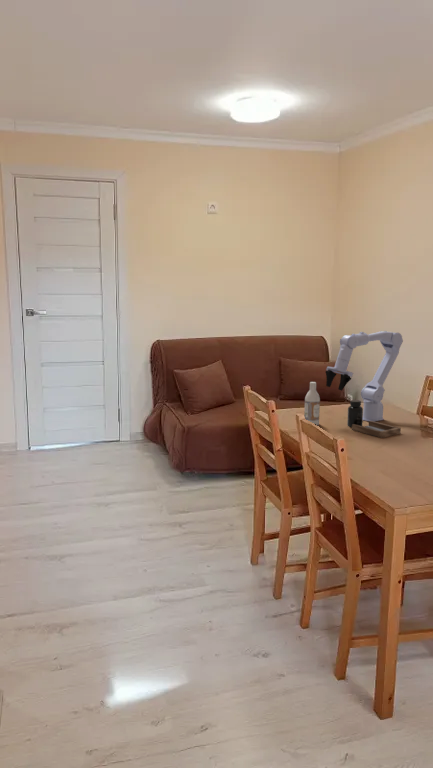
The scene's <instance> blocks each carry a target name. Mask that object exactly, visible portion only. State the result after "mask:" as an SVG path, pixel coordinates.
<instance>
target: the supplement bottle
mask: <svg viewBox="0 0 433 768" xmlns="http://www.w3.org/2000/svg"><path fill="white" fill-rule="evenodd" d="M363 408H364V407H362V401H361V400H360V399H352V400H351V399H350V403H349V406H348V408H347V421H346V423H347V424H346V425H347V427H349V428H352V425H353V424H356V425H359V426H363V421H364V420H363Z"/></svg>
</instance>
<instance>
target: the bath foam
mask: <svg viewBox="0 0 433 768" xmlns="http://www.w3.org/2000/svg"><path fill="white" fill-rule="evenodd" d="M320 406H321V398H320V395H319V393H318V390H317V382H316V381H310V382H309V390H308V391H307V393H306V395H305V397H304V411H303V412H304V415H303V416H304V417H305V419H306V420H308V421H310V422H312V423H314V424H316V426H319V425H320V410H321V409H320ZM304 417H303V418H304Z"/></svg>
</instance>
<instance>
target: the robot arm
mask: <svg viewBox="0 0 433 768" xmlns="http://www.w3.org/2000/svg"><path fill="white" fill-rule="evenodd" d="M374 341H379V342H380V344H381V345H382V347H383V348H384V350H385V354H384V356H383V358H382V359H381V362H380V364H379V366H378V368H377V369H376V371H375V374H374V376H373V378H372V380H371V381H369V382H367V383H365V385H364V387H363V388H362V389H361V391H360V397H361V399H362V401H363V407H362V408H363V421H364V422H365V421H366V422H369V421H374V422H379V421H384V420H385V418H384V405H383V403H382V400H383V398H384V393H385V391H386V390H385V388H384V384H385V381H386V379H387V377H388V375H389V373H390V372H391V370H392V367H393V365H394V363H395V362H396V360H397V357H398V355H399V353H400V348H401V346H402V344H403V342H404V340H403V335H402V334H401V333H400V332H393V331H387V330H383V331H382V330H381V331H377V332H372V333H369V334H368V333H367V332H364V331H359V332H358V333H351V335H349V334H345V335H343V336H342V337H341V338H340V339H339V343H340V344H339V351H338V353H337V358H336V361H335V364H334V366H327V367H326V369H325V376H326V382H325V383H326V387H327V388H330V387H331V386H332V384H333V380H334V379H335V377H336V376H337V374H338V375H339V374H340V380H339V384H338V390H339V391H341V392H342V391H343V390H344V388H345V387H346V385H347V384H348V383H349V382H350V381H351V380H352V377H353V375H354V372H352V371H348V370H347V369H348V367H349V364H350V361H351V358H352V357H351V356H352V354H353V351H354V349H356V348H357V347H361V346H366V345H368V344H369V342H374Z"/></svg>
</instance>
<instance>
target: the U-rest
mask: <svg viewBox="0 0 433 768" xmlns="http://www.w3.org/2000/svg"><path fill="white" fill-rule="evenodd" d="M351 431H355V432H357V433H362V434H365V435H369V436H372V437H376V438H380V439H383V438H389V437H392V436H396V435H400V434H401V427H397V426H395V425H394V426H393V425H390V424H386V423H382V422H379V421H375V422H374V421H368V425H366V426H365V425H364V426H363V425H362V426H359V425H356V424H353V425H352V427H351Z"/></svg>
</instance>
